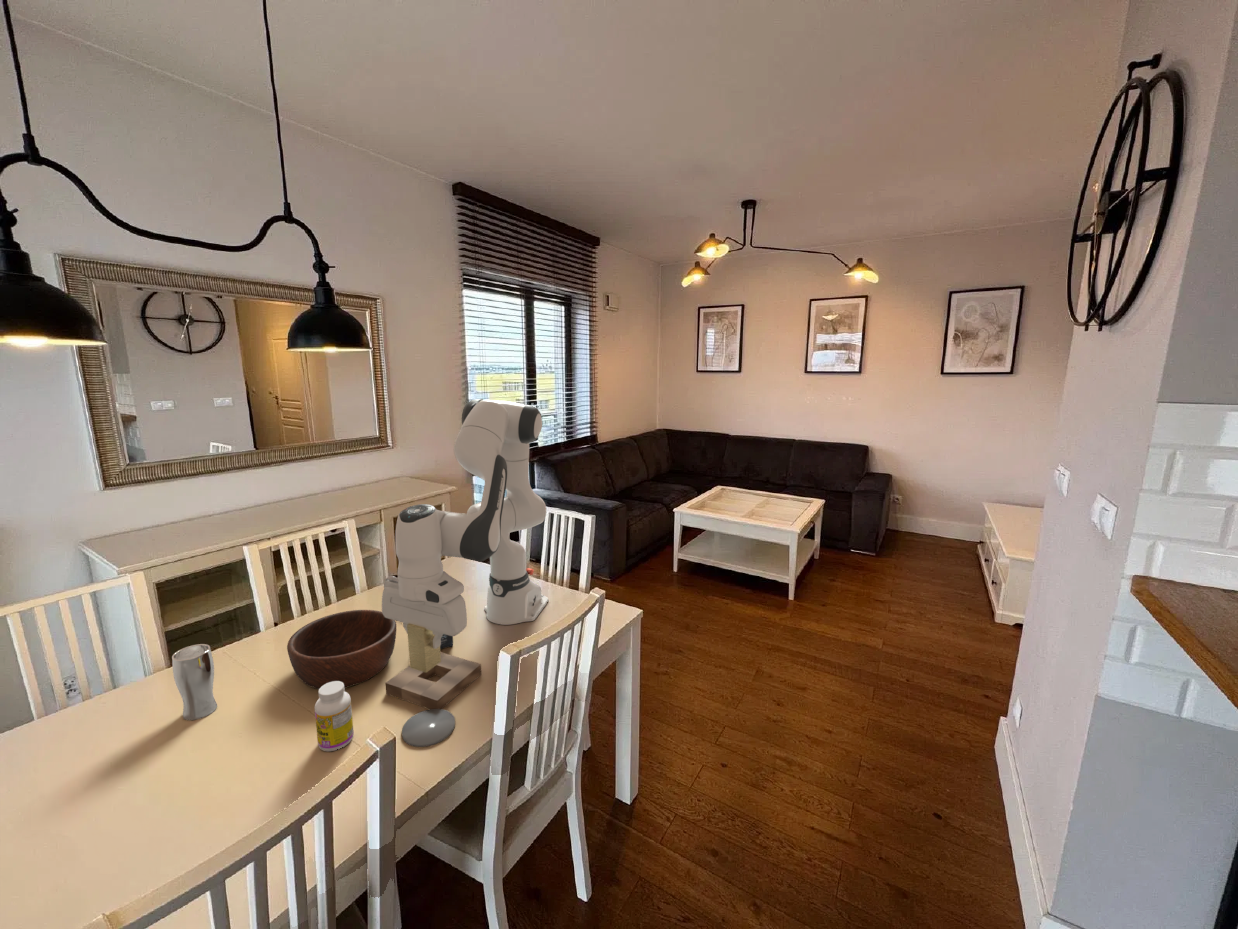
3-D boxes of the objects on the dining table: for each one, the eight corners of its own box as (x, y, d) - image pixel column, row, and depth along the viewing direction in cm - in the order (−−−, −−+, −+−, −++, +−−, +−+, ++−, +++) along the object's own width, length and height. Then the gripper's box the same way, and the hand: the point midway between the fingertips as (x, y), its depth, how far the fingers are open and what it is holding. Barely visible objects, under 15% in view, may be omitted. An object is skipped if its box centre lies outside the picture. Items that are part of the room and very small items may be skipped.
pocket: (433, 659, 138) (432, 649, 137) (481, 674, 132) (481, 664, 131) (386, 693, 123) (385, 682, 123) (437, 712, 117) (437, 700, 117)
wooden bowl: (340, 636, 148) (337, 604, 146) (417, 648, 143) (415, 615, 141) (265, 689, 124) (261, 651, 122) (355, 705, 119) (351, 665, 117)
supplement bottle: (313, 742, 107) (307, 688, 105) (346, 726, 112) (341, 673, 110) (325, 758, 103) (320, 702, 100) (359, 740, 108) (354, 687, 105)
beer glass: (176, 725, 111) (166, 664, 108) (185, 706, 117) (175, 647, 114) (216, 716, 114) (207, 656, 111) (222, 698, 120) (214, 640, 117)
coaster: (427, 706, 119) (427, 703, 119) (465, 720, 115) (465, 717, 115) (390, 737, 109) (390, 734, 109) (430, 753, 105) (430, 750, 105)
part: (425, 657, 112) (422, 615, 110) (440, 661, 110) (438, 619, 108) (410, 667, 108) (407, 624, 106) (426, 672, 106) (423, 629, 104)
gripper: (371, 579, 106) (376, 639, 109) (449, 598, 99) (452, 662, 101) (395, 569, 112) (399, 626, 115) (470, 586, 104) (472, 647, 107)
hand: (424, 643), depth 108 cm, fingers closed on part, 4 cm apart
